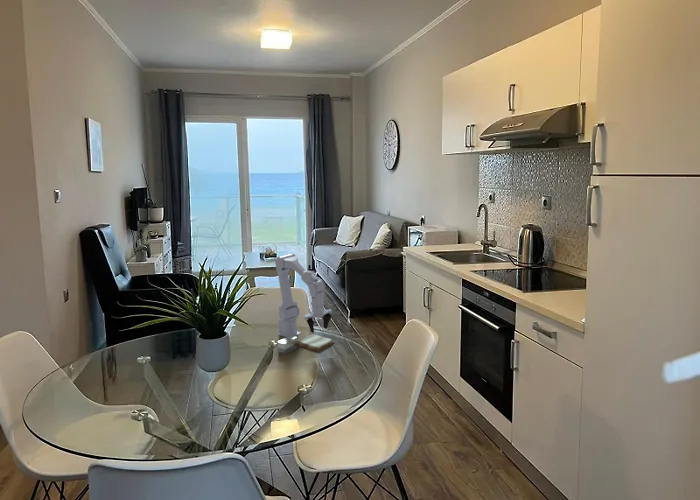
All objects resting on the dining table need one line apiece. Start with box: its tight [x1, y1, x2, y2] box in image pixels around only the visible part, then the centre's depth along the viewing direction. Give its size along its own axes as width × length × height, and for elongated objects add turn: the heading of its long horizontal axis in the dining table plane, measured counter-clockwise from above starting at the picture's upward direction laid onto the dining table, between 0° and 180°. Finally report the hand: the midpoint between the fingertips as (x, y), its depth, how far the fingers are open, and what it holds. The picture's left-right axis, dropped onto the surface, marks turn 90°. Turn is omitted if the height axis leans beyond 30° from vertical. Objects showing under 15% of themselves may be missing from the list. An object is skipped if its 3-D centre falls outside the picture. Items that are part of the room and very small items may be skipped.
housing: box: [277, 335, 298, 355], centre depth 255 cm, size 4×9×6 cm, turn 144°
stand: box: [297, 333, 335, 353], centre depth 262 cm, size 14×13×2 cm
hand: (318, 330), depth 256 cm, fingers open, 7 cm apart
